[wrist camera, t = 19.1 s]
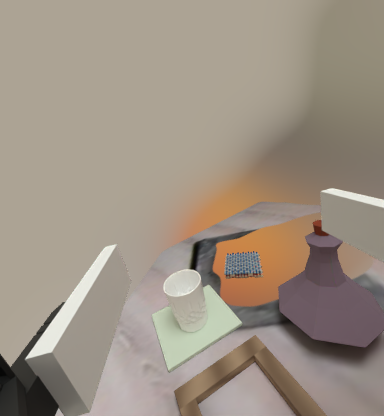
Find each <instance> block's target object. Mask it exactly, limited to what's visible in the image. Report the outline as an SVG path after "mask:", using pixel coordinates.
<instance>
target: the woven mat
mask: <svg viewBox="0 0 384 416" xmlns="http://www.w3.org/2000/svg"><path fill="white" fill-rule="evenodd" d="M252 255H253V256H252ZM259 256H260V255H259V254H257V252H256V254H255V253H254V251H253V254H252V252H251V254H249V252H248V254H246V253H245V254H244V252H243V254H242V255H241V253H240V255H239V253H237V255H236V254H235V255H234V253H232V255H231V254H230V256H229V254H227V257H226V259H227V260H226V262H225V263H226V264H225V266H226V267H225V271H226V272H224V273H225V275H226V279H230V278H234V277H235V278H248V277H255V278H258V277H263V275H261V274H262V273H263V271H262V269H260V268H261V267H262V266H261V265H260V262H259V261H260V258H259ZM242 258H243V259H242ZM248 260H249V261H248ZM256 261H257V262H256ZM254 266H255V267H254ZM256 266H258V267H256ZM228 270H229V271H228ZM252 271H253V272H252ZM254 271H256V272H254ZM258 274H259V275H258ZM239 275H240V276H239Z"/></svg>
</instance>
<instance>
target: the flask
mask: <svg viewBox="0 0 384 416" xmlns="http://www.w3.org/2000/svg"><path fill="white" fill-rule="evenodd" d="M313 226H314V232H313V233H311V234H309V235H307V236H305V238H306V241H307V243H308V245H309V246H310V255H309V258H308V261H307V264H306V267H305V270H304V271H303V272H301V273H300V274H299V275H297V276H295V277H293V278H292V279H290V280H289V281H287V282H285V283H284V284H282V285H280V286H279V309H280V312H281V313H282V314H283V315H285V316H286V317H287V318H288V319H289V320H291V321H292V322H293V323H294V324H295V325H297V326H298V327H299V328H300V329H301V330H303V331H304V332H305V333H306V334H307V335H308V336H310V337H311V338H312V339H315V340H319V341H325V342H332V343H338V344H344V345H351V346H359V347H366V346H367V345H369V344H370V343H371V342H372V341H373V340H374V339H375V338H376V337H377V336H378V335H379V334H381V333H382V332H383V331H384V312H383V311H382V309H381V307H380V306H379V304H378V303H377V301H376V299H375V298H374V296H373V294H372V293H371V292H369V291H368V290H366V289H365V288H363V287H362V286H360V285H359V284H357V283H356V282H354V281H353V280H352V279H350V278H349V277H348V276H347V275H345V274H344V273H343V271H342V268H341V265H340V263H339V260H338V254H337V249H338V248H339V246H340V245H341V244H342V242H343V241H342V240H340V239H338V238H336V237H334V236H332V235H330V234H328V233H326V232H324V231H322V220H317V221H315V222H313Z"/></svg>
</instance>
